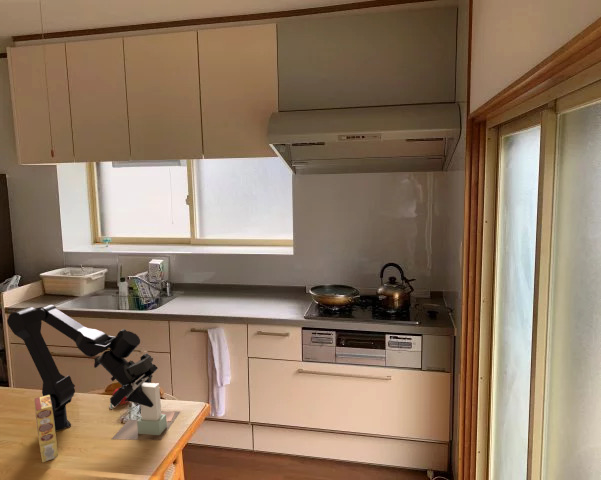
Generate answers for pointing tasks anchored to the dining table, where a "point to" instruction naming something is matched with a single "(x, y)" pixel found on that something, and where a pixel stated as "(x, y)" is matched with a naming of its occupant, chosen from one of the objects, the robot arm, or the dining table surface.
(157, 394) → the tall beige block
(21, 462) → the dining table surface
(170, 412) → the walnut board
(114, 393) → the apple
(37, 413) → the candy box
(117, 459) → the dining table surface
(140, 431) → the slot box
